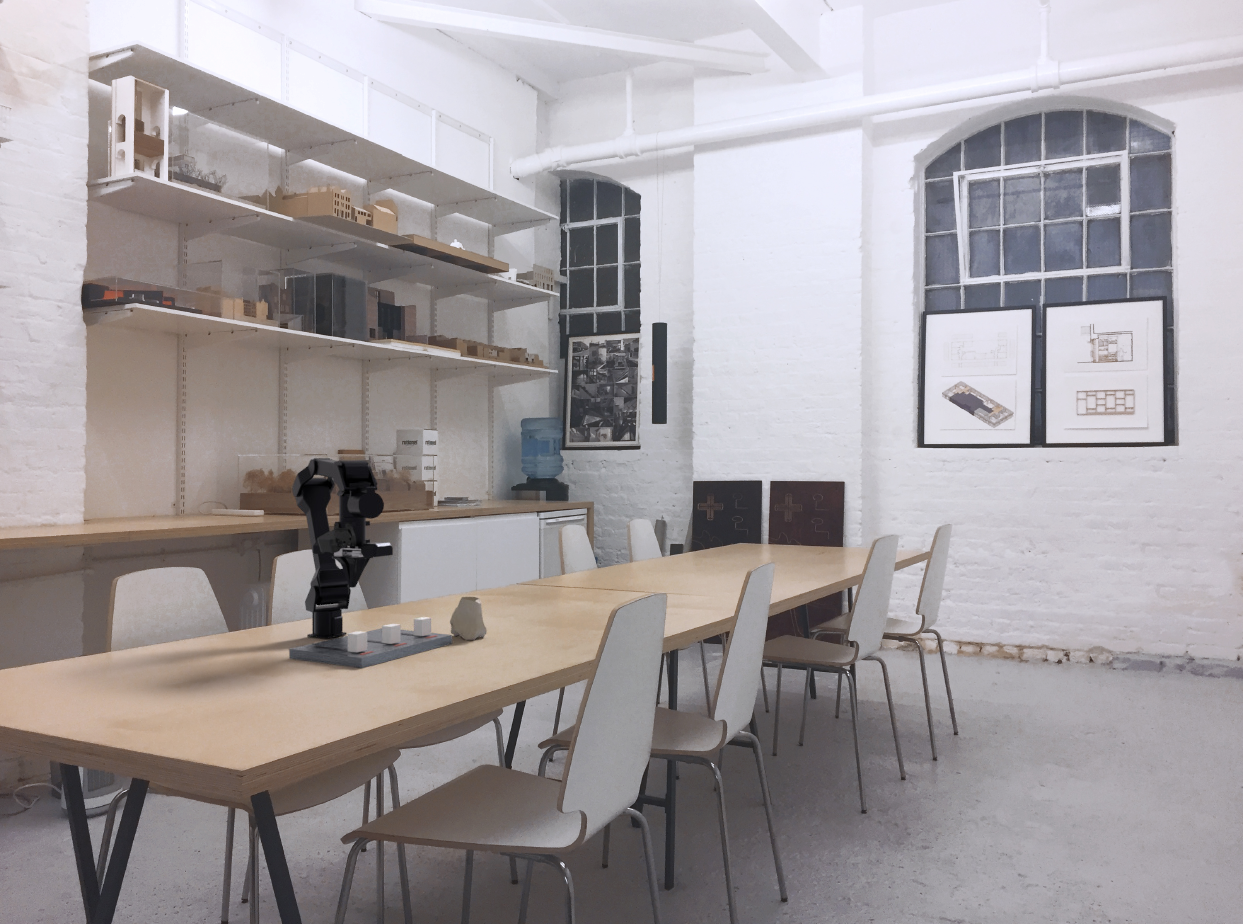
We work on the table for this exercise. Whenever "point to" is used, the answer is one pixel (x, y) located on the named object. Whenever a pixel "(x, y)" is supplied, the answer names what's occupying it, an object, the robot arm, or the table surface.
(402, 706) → the table surface
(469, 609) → the faceted grey rock
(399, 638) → the handle mid
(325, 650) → the panel
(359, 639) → the handle
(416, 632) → the handle far
